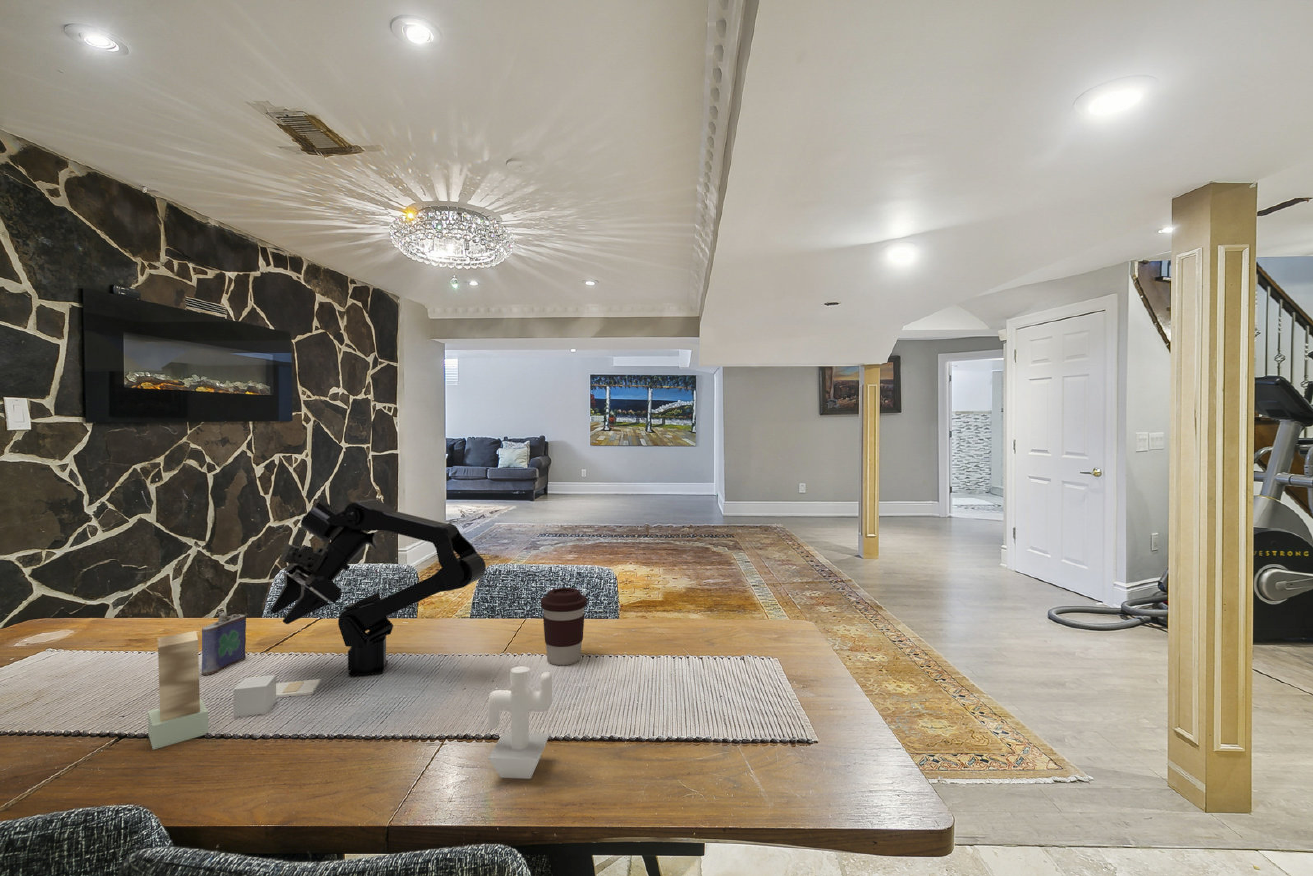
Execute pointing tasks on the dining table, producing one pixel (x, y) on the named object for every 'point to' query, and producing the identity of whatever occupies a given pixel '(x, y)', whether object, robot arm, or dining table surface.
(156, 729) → the sage base block
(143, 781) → the dining table surface
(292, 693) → the card
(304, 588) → the robot arm
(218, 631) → the flask
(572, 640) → the coffee cup
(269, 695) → the grey cube
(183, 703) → the maple pillar
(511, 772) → the figurine
